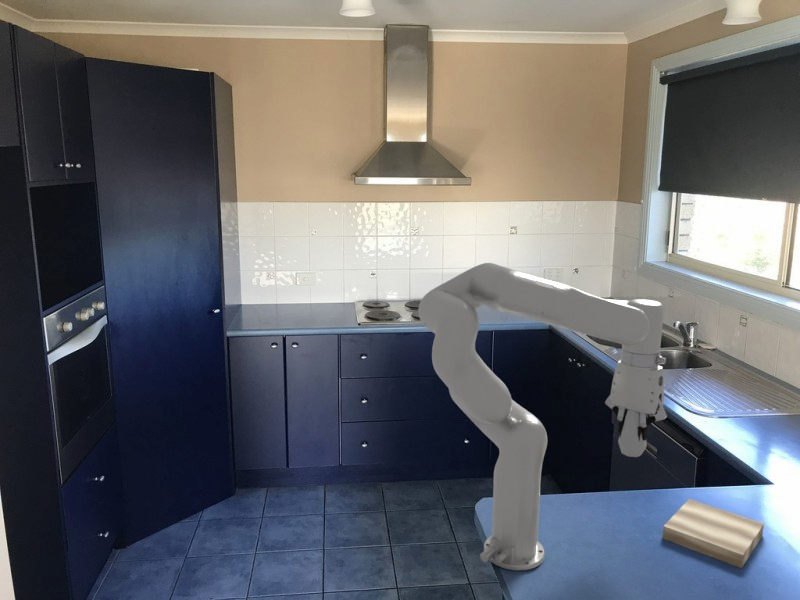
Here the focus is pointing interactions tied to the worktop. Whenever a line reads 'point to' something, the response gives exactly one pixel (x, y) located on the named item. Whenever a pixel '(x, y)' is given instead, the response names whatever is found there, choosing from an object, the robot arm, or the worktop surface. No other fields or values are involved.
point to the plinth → (714, 532)
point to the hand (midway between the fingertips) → (632, 439)
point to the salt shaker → (631, 436)
